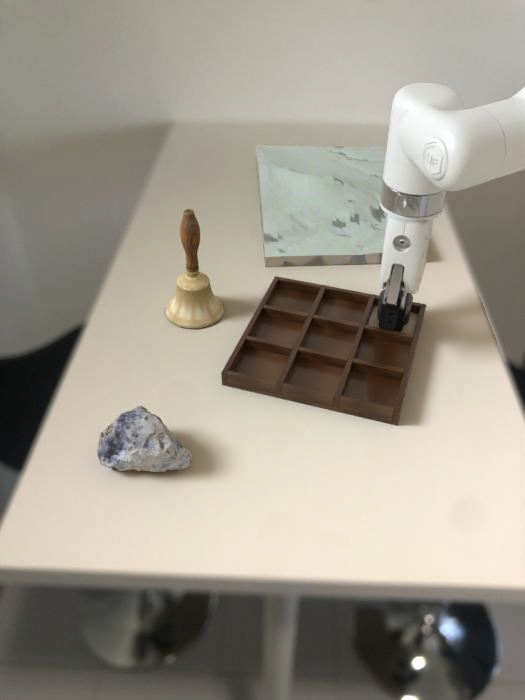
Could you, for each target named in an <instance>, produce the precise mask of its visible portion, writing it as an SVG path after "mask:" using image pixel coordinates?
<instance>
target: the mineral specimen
mask: <svg viewBox="0 0 525 700" xmlns="http://www.w3.org/2000/svg"><path fill="white" fill-rule="evenodd" d="M96 455H97V458H98V460H99V463H100V465H101V466H104V467H105V468H107V469H112V468H115V469H116V470H117V471H119V472H125V471H131V470H134V471H137V472H141V471H143V472H145V471H146V472H148V471H149V472H152V473H160V472H162V473H163V472H167V470H169V471H176V470H178V471H182V470H184V469H186V468H188V467H190V465H191V462H192V460H193V455H192V453H191V452H190V450H189V449H187V448H186V447H184V446H183V445H182V444H181V442H179V441H178V440H177V438H176V437H175V436H174V435H173V432H171V431H170V430H169V428H168V427H167V425H166V424H165V423H164V421H163V420H162V419H161V418H160V416H158V415H156V414H154V413H152V412H151V411H148V408H147V407H145V406H143V405H137V406H135V407H133V409H131V410H128V411H124V412H120V413H119V415H117V416H116V417H115V419H114V421H113V422H111V423H110V424H108V425H107V426H106V427H105V428H104V429H103V431H101V432H100V433H99V434H98V442H97V446H96Z"/></svg>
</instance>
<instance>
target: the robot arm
mask: <svg viewBox="0 0 525 700" xmlns="http://www.w3.org/2000/svg"><path fill="white" fill-rule="evenodd" d="M463 107H464V104H463V99H462V96H461V94H460V93H459V92H458V91H457V90H456V89H454V88H452V87H450V86H448V85H445V84H440V83H437V82H435V83H434V82H415V83H410V84H406V85H405V86H403V87H401V88H399V90H398V91H397V92H396V93H395V95H394V96H393V99H392V103H391V111H390V117H389V125H388V134H387V142H386V149H385V152H386V157H385V165H384V173H383V182H382V190H381V198H380V207H381V209H382V210H383V211H384V212H385V213H386V214H388V217H387V224H386V231H385V238H384V245H383V253H382V262H381V264H380V273H379V286H380V287H381V289H382V290H384V289H385V292H384V298H383V301H382V303H381V310H380V317H379V324H378V326H379V327H380V328H384V329H389V330H394V331H399V332H401V331H402V330H403V325H404V319H405V313H406V307H407V306H405V301H406V295H407V293H411V294H412V295H416V294H417V293H418V292H419V290H420V287H421V283H422V280H423V277H424V273H425V269H426V266H427V265H426V264H427V260H428V255H429V248H430V242H431V238H432V237H431V236H432V231H433V225H434V219H437V218H438V217H439V216H442V213H443V212H444V209H445V203H446V202H445V201H446V198H447V192H458V191H459V192H460V191H463V190H466V189H470V188H473V187H476V186H479V185H482V184H485V183H489V182H490V181H493V180H497V179H499V178H502V177H505V176H509V175H511V174H515V173H518V172H521V171H524V170H525V86H524V87H522V89H520V90H519V91H518V92H517V93H515V94H514V95H513V96H511V97H509V98H506V99H503V100H502V99H501V100H497V101H494V102H489V103H487V104H484V105H483V104H482V105H479V106H476V107H472V108H466V109H463ZM399 291H400V292H402V297H398V295H399Z"/></svg>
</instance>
